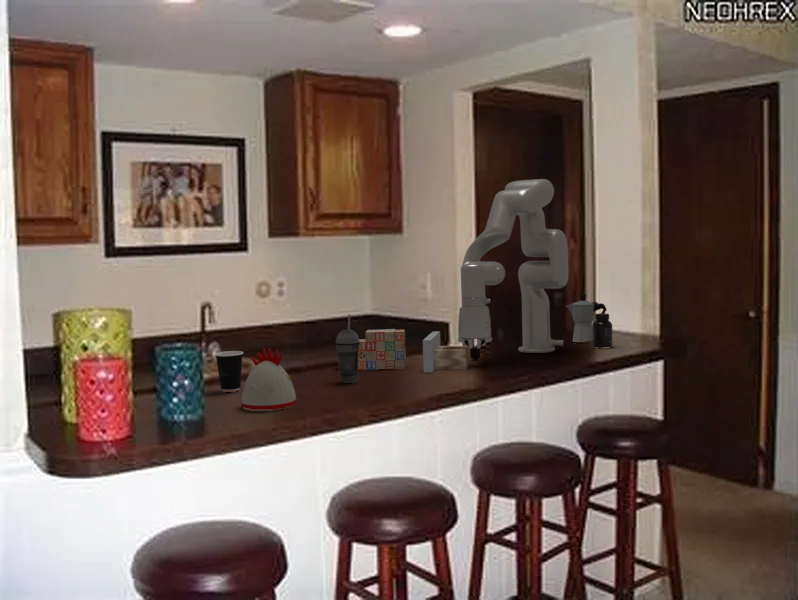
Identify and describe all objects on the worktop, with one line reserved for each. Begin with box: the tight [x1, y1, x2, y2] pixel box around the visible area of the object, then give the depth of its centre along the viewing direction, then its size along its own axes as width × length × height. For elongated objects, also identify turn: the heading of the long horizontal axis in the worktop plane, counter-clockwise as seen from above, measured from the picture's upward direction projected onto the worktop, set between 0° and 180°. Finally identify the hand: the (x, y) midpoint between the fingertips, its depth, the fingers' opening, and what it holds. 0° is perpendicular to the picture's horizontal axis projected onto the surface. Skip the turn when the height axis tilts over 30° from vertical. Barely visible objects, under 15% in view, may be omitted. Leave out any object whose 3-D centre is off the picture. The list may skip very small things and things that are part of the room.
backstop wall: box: [422, 330, 441, 374], centre depth 266 cm, size 2×22×10 cm, turn 170°
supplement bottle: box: [592, 312, 613, 348], centre depth 295 cm, size 7×7×12 cm
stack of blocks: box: [337, 328, 407, 371], centre depth 267 cm, size 21×6×12 cm, turn 85°
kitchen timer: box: [241, 347, 297, 409], centre depth 213 cm, size 14×14×15 cm
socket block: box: [433, 345, 470, 371], centre depth 265 cm, size 10×10×6 cm
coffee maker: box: [565, 294, 607, 342], centre depth 309 cm, size 15×9×18 cm, turn 80°
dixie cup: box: [214, 350, 244, 391], centre depth 235 cm, size 8×8×11 cm
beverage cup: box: [334, 314, 360, 384], centre depth 243 cm, size 7×7×20 cm
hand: (475, 360), depth 264 cm, fingers closed
